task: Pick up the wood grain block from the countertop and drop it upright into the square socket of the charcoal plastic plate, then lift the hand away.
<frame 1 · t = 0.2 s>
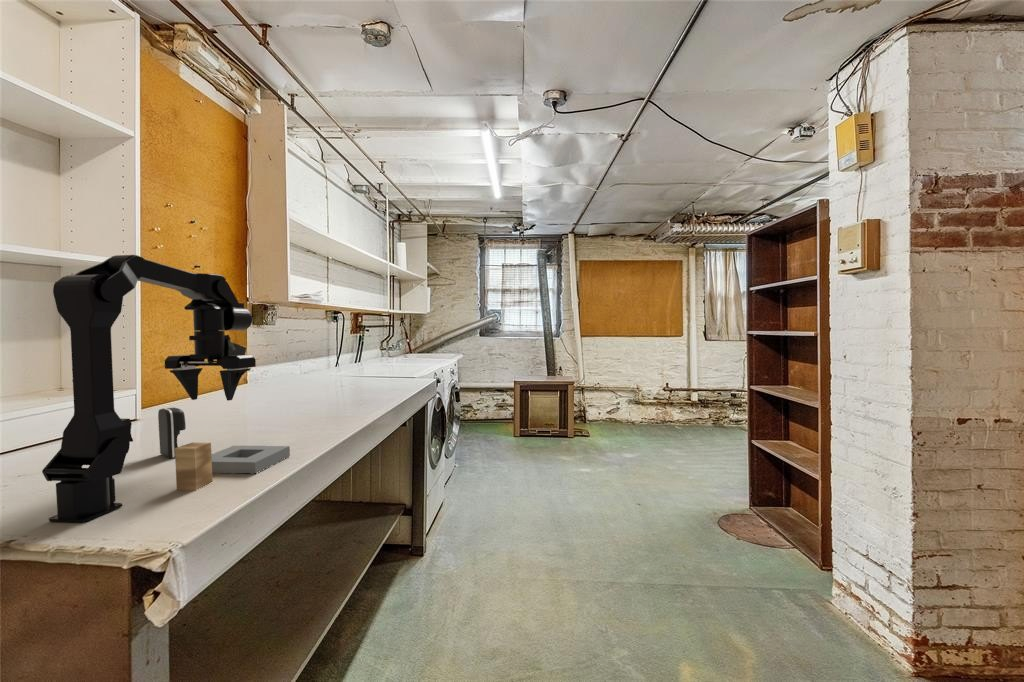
hand: (211, 399, 99), 14 cm above the worktop, tool pointing down, fingers open, 9 cm apart
socket plate: (244, 464, 98), on the worktop
wood grain block: (195, 486, 85), on the worktop
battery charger: (174, 455, 106), on the worktop
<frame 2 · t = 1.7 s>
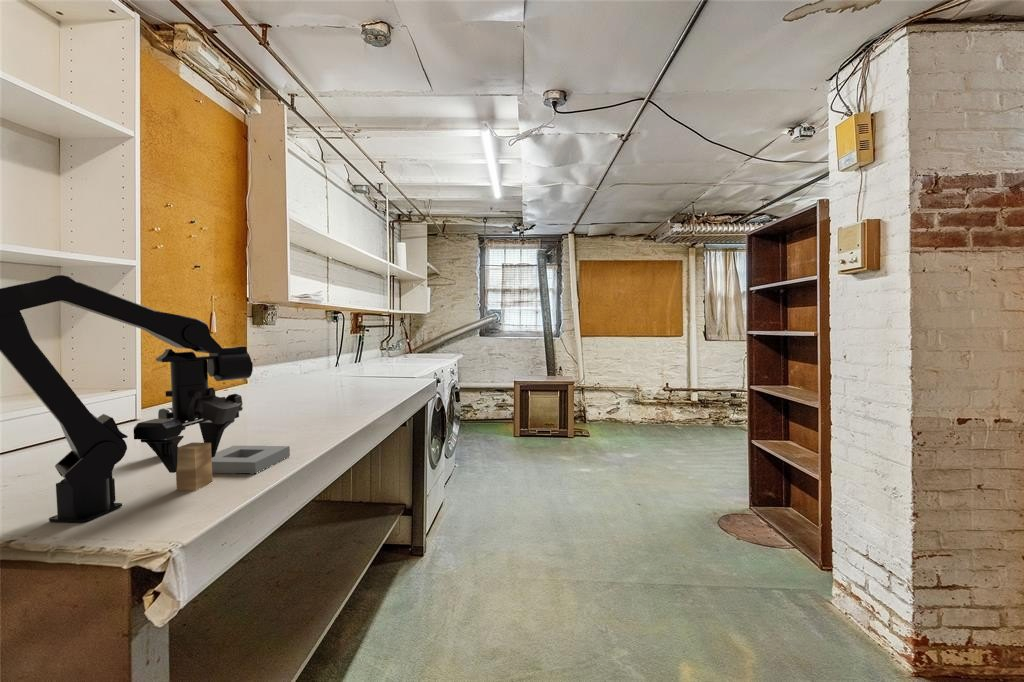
hand: (193, 464, 85), 4 cm above the worktop, tool pointing down, fingers open, 9 cm apart
nothing on the worktop moved.
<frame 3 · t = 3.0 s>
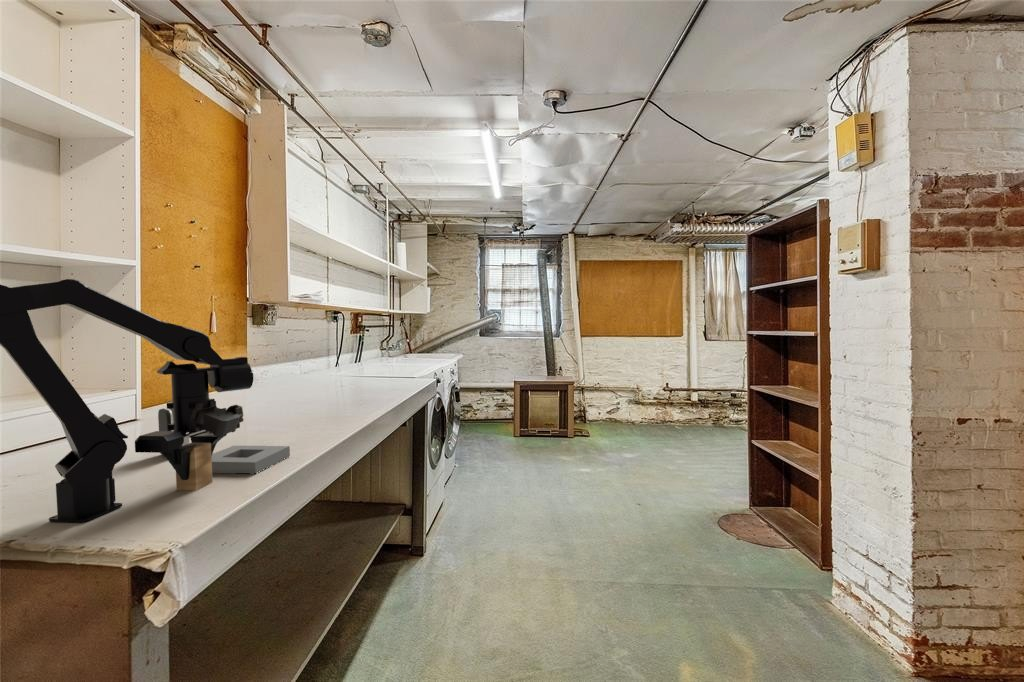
hand: (194, 475, 85), 2 cm above the worktop, tool pointing down, fingers closed on wood grain block, 4 cm apart
wood grain block: (195, 486, 85), on the worktop, touching gripper
everything else where it was.
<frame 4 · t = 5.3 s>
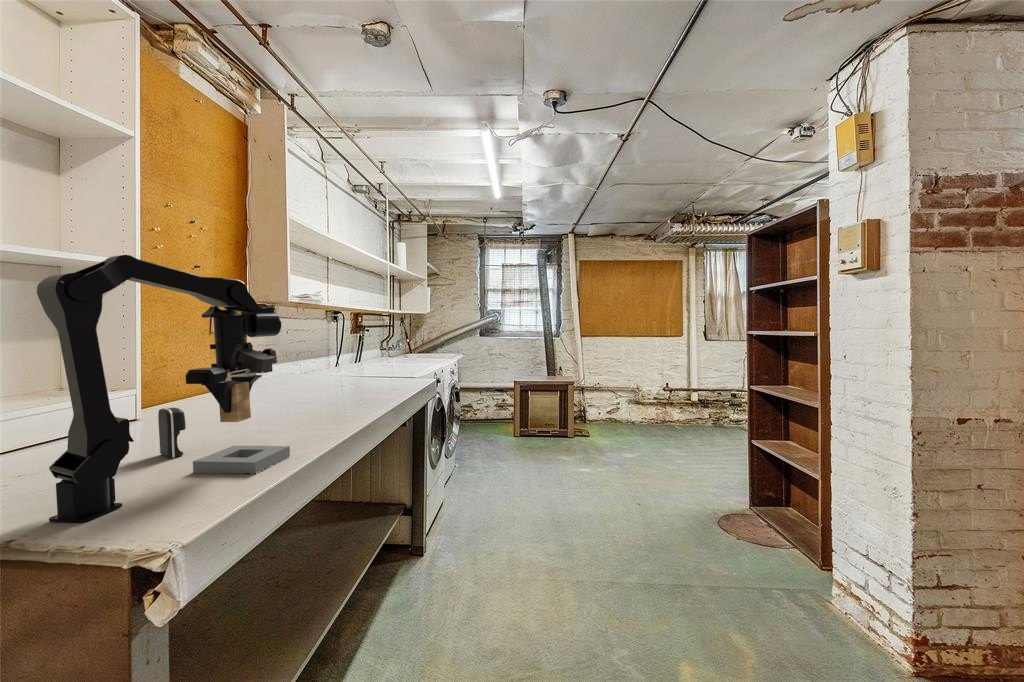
hand: (235, 410, 95), 13 cm above the worktop, tool pointing down, fingers closed on wood grain block, 4 cm apart
wood grain block: (235, 419, 95), point 11 cm above the worktop, touching gripper
everything else where it was.
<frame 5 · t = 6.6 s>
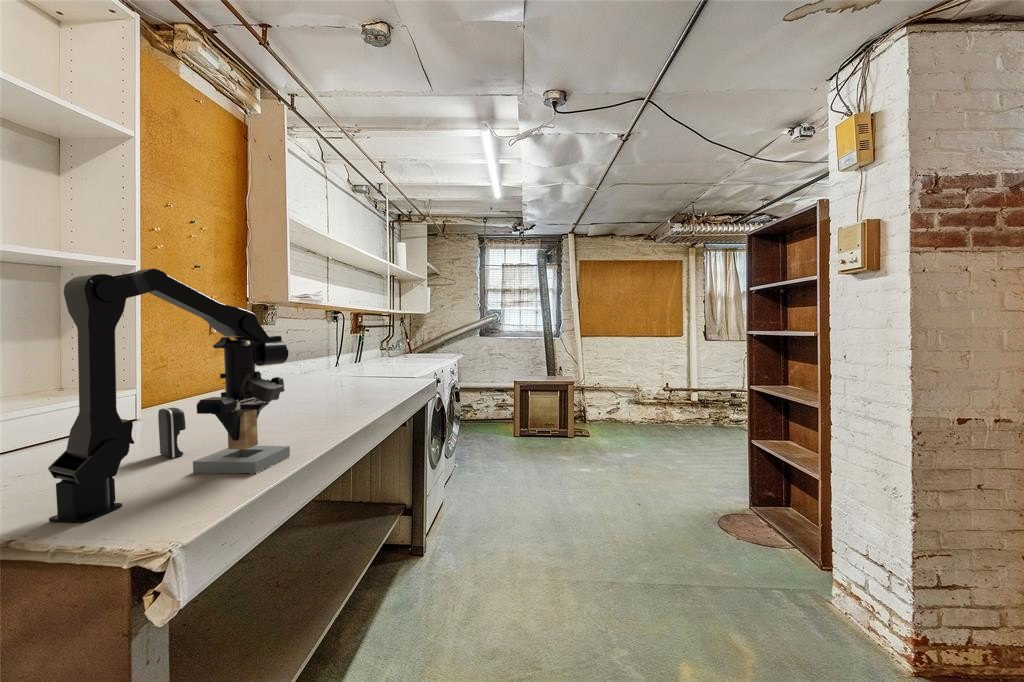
hand: (242, 437, 98), 6 cm above the worktop, tool pointing down, fingers closed on wood grain block, 4 cm apart
wood grain block: (243, 446, 98), point 4 cm above the worktop, touching gripper
everything else where it was.
when the fingers open (4 cm above the worktop, at t = 7.7 s): wood grain block drops 2 cm, resting in socket plate.
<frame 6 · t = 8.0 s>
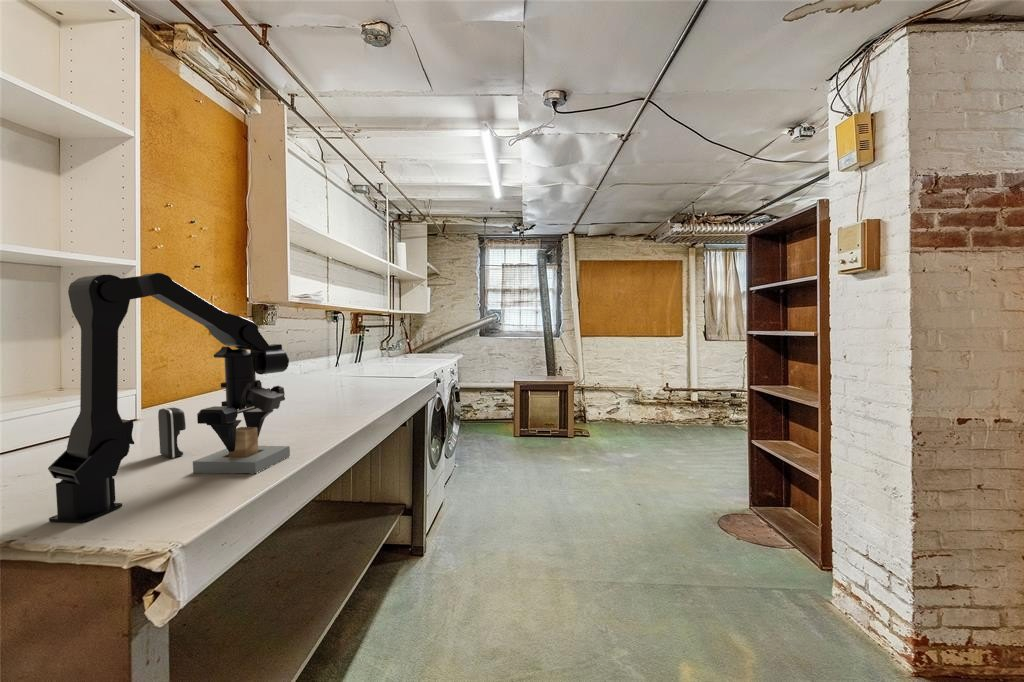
hand: (243, 446, 98), 4 cm above the worktop, tool pointing down, fingers open, 7 cm apart
wood grain block: (244, 464, 98), resting in socket plate
everything else where it was.
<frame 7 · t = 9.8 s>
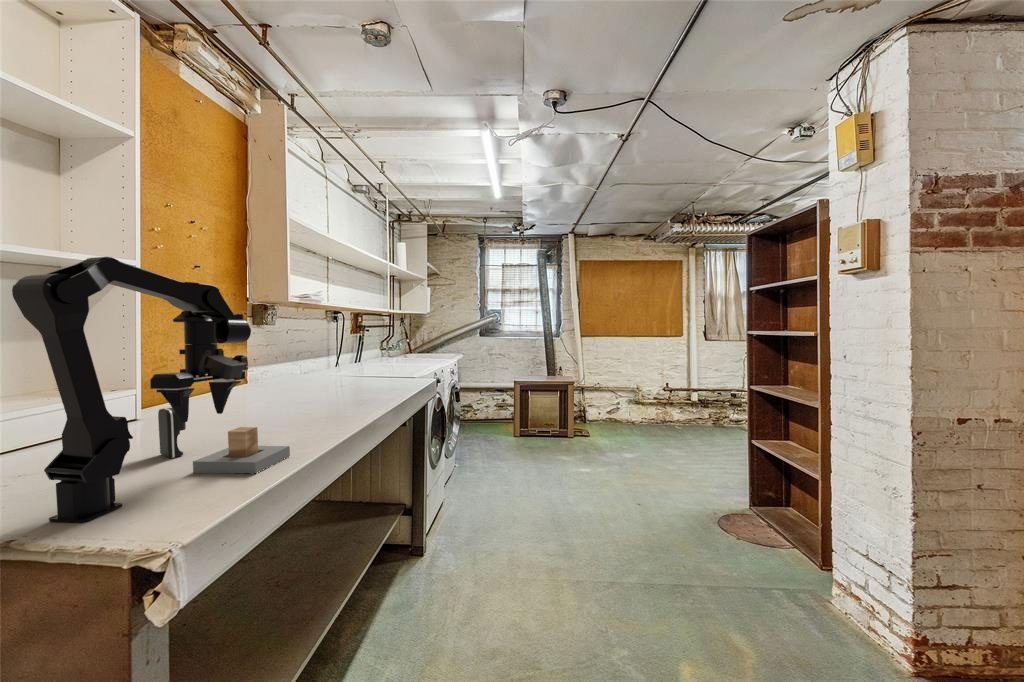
hand: (202, 417, 94), 12 cm above the worktop, tool pointing down, fingers open, 9 cm apart
nothing on the worktop moved.
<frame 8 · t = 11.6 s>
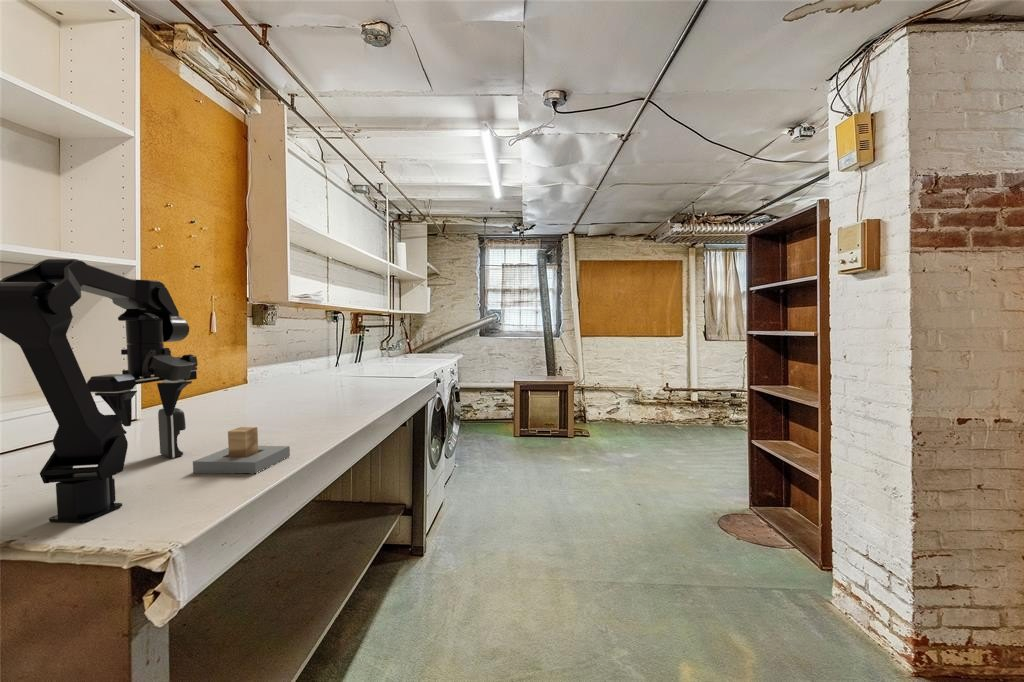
hand: (149, 420, 89), 12 cm above the worktop, tool pointing down, fingers open, 9 cm apart
nothing on the worktop moved.
at the end: wood grain block 0.0 cm off-centre on the socket plate, point 0.0 cm above the socket plate's base; wood grain block tilted 0°; the gripper is holding nothing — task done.
